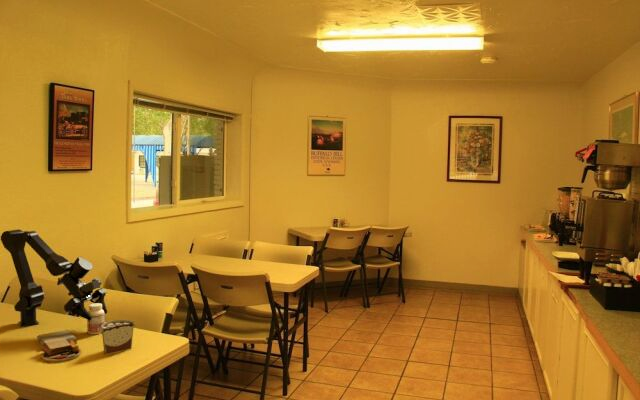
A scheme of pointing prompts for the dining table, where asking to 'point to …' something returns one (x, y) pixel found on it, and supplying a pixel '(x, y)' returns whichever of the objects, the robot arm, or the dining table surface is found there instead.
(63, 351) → the toy sandwich meal
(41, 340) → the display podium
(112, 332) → the food container
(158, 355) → the dining table surface
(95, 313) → the pill bottle
